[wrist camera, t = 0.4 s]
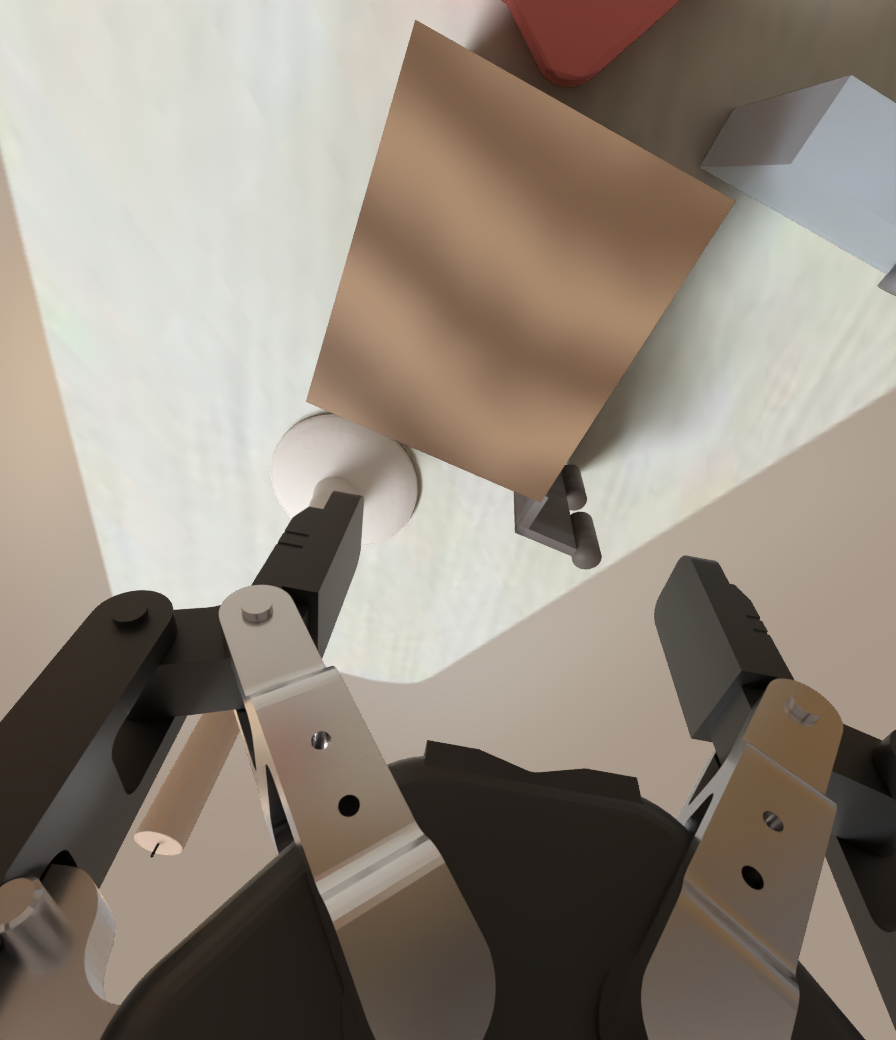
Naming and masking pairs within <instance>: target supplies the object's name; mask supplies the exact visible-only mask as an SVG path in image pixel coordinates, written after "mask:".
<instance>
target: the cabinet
mask: <svg viewBox="0 0 896 1040" xmlns="http://www.w3.org/2000/svg"><path fill="white" fill-rule="evenodd" d="M734 203H735V200H733V199H731V198H729V197H728V196H726V195H724V194H722V193H720V192H719V191H717V190H715V189H713V188H712V187H710V186H708V185H706V184H705V183H703V182H701V181H699V180H698V179H696V178H694V177H692V176H690V175H689V174H687V173H685V172H683V171H682V170H680V169H678V168H676V167H675V166H673V165H671V164H669V163H667V162H666V161H664V160H662V159H660V158H659V157H657V156H655V155H653V154H652V153H650V152H648V151H646V150H645V149H643V148H641V147H639V146H637V145H636V144H634V143H632V142H630V141H629V140H627V139H625V138H623V137H622V136H620V135H618V134H616V133H614V132H613V131H611V130H609V129H607V128H606V127H604V126H602V125H600V124H599V123H597V122H595V121H593V120H592V119H590V118H588V117H586V116H584V115H583V114H581V113H579V112H577V111H576V110H574V109H572V108H570V107H569V106H567V105H565V104H563V103H562V102H560V101H558V100H556V99H554V98H553V97H551V96H549V95H547V94H546V93H544V92H542V91H540V90H539V89H537V88H535V87H533V86H531V85H530V84H528V83H526V82H524V81H523V80H521V79H519V78H517V77H516V76H514V75H512V74H510V73H509V72H507V71H505V70H503V69H501V68H500V67H498V66H496V65H494V64H493V63H491V62H489V61H487V60H486V59H484V58H482V57H480V56H479V55H477V54H475V53H473V52H471V51H470V50H468V49H466V48H464V47H463V46H461V45H459V44H457V43H456V42H454V41H452V40H450V39H448V38H447V37H445V36H443V35H441V34H440V33H438V32H436V31H434V30H433V29H431V28H429V27H427V26H426V25H424V24H422V23H420V22H418V21H417V20H415V23H414V27H413V30H412V34H411V37H410V41H409V44H408V47H407V51H406V54H405V58H404V61H403V65H402V68H401V72H400V75H399V79H398V82H397V86H396V89H395V93H394V96H393V100H392V103H391V107H390V110H389V114H388V117H387V121H386V124H385V128H384V131H383V135H382V138H381V142H380V145H379V149H378V152H377V156H376V159H375V163H374V166H373V170H372V173H371V177H370V180H369V184H368V187H367V191H366V194H365V198H364V201H363V205H362V208H361V212H360V215H359V219H358V222H357V225H356V229H355V232H354V236H353V239H352V243H351V246H350V250H349V253H348V257H347V260H346V264H345V267H344V271H343V274H342V278H341V281H340V285H339V288H338V292H337V295H336V299H335V302H334V306H333V309H332V313H331V316H330V320H329V323H328V327H327V330H326V334H325V337H324V341H323V344H322V348H321V351H320V355H319V358H318V362H317V365H316V369H315V372H314V376H313V379H312V383H311V386H310V390H309V393H308V397H307V400H306V402H308V403H310V404H312V405H315V406H317V407H319V408H322V409H324V410H326V411H329V412H331V413H333V414H336V415H338V416H340V417H343V418H345V419H347V420H350V421H352V422H354V423H357V424H359V425H361V426H363V427H366V428H368V429H370V430H373V431H375V432H377V433H380V434H382V435H384V436H387V437H389V438H391V439H394V440H396V441H398V442H401V443H403V444H405V445H408V446H410V447H412V448H415V449H417V450H419V451H421V452H424V453H426V454H428V455H431V456H433V457H435V458H438V459H440V460H442V461H445V462H447V463H449V464H452V465H454V466H456V467H459V468H461V469H463V470H466V471H468V472H470V473H473V474H475V475H477V476H480V477H482V478H484V479H486V480H489V481H491V482H493V483H496V484H498V485H500V486H503V487H505V488H507V489H510V490H512V491H514V516H515V533H517V534H520V535H522V536H525V537H527V538H529V539H532V540H534V541H537V542H539V543H541V544H544V545H546V546H548V547H551V548H553V549H556V550H558V551H560V552H563V553H565V554H568V555H570V556H572V561H573V563H574V565H575V566H576V567H578V568H581V569H591V568H594V567H596V566H597V565H598V564H599V563H600V561H601V558H602V556H601V552H600V548H599V544H598V540H597V536H596V532H595V528H594V524H593V520H592V518H591V516H590V515H589V514H587V513H585V512H576V513H573V514H571V515H570V511H569V510H579V509H581V508H582V507H584V506H585V504H586V502H587V496H586V493H585V489H584V485H583V481H582V477H581V473H580V470H579V468H578V467H577V466H575V465H572V464H568V465H565V464H566V463H567V461H568V460H569V458H570V457H571V455H572V453H573V452H574V450H575V449H576V447H577V446H578V444H579V443H580V441H581V439H582V438H583V436H584V435H585V433H586V432H587V430H588V429H589V427H590V426H591V424H592V422H593V421H594V419H595V418H596V416H597V415H598V413H599V412H600V410H601V409H602V407H603V405H604V404H605V402H606V401H607V399H608V398H609V396H610V395H611V393H612V392H613V390H614V388H615V387H616V385H617V384H618V382H619V381H620V379H621V378H622V376H623V375H624V373H625V371H626V370H627V368H628V367H629V365H630V364H631V362H632V361H633V359H634V358H635V356H636V354H637V353H638V351H639V350H640V348H641V347H642V345H643V344H644V342H645V340H646V339H647V337H648V336H649V334H650V333H651V331H652V330H653V328H654V327H655V325H656V323H657V322H658V320H659V319H660V317H661V316H662V314H663V313H664V311H665V310H666V308H667V306H668V305H669V303H670V302H671V300H672V299H673V297H674V296H675V294H676V293H677V291H678V289H679V288H680V286H681V285H682V283H683V282H684V280H685V279H686V277H687V276H688V274H689V272H690V271H691V269H692V268H693V266H694V265H695V263H696V262H697V260H698V259H699V257H700V255H701V254H702V252H703V251H704V249H705V248H706V246H707V245H708V243H709V241H710V240H711V238H712V237H713V235H714V234H715V232H716V231H717V229H718V228H719V226H720V224H721V223H722V221H723V220H724V218H725V217H726V215H727V214H728V212H729V211H730V209H731V207H732V206H733V204H734Z"/></svg>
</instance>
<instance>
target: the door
mask: <svg viewBox="0 0 896 1040" xmlns="http://www.w3.org/2000/svg"><path fill="white" fill-rule="evenodd" d="M699 168H701V169H703V170H704V171H706V172H708V173H710V174H711V175H713V176H715V177H717V178H718V179H720V180H722V181H724V182H725V183H727V184H729V185H731V186H732V187H734V188H736V189H738V190H739V191H741V192H743V193H745V194H746V195H748V196H750V197H752V198H753V199H755V200H757V201H759V202H760V203H762V204H764V205H766V206H767V207H769V208H771V209H773V210H774V211H776V212H778V213H780V214H782V215H783V216H785V217H787V218H789V219H790V220H792V221H794V222H796V223H797V224H799V225H801V226H803V227H804V228H806V229H808V230H810V231H811V232H813V233H815V234H817V235H818V236H820V237H822V238H824V239H825V240H827V241H829V242H831V243H832V244H834V245H836V246H838V247H839V248H841V249H843V250H845V251H846V252H848V253H850V254H852V255H853V256H855V257H857V258H859V259H860V260H862V261H864V262H866V263H867V264H869V265H871V266H873V267H874V268H876V269H878V270H880V271H881V272H883V273H886V274H887V275H886V276H885V277H884V278H883V280H882V281H881V282H880V283H879V284H878V285H877V286H878V287H879V288H881V289H883V290H884V291H886V292H888V293H890V294H892V295H895V296H896V103H895V102H893V101H892V100H890V99H889V98H887V97H885V96H884V95H882V94H881V93H879V92H878V91H876V90H874V89H873V88H871V87H870V86H868V85H867V84H865V83H863V82H862V81H860V80H859V79H857V78H856V77H854V76H852V75H849V76H845V77H842V78H838V79H835V80H832V81H828V82H825V83H821V84H818V85H814V86H811V87H807V88H804V89H800V90H797V91H793V92H790V93H786V94H783V95H779V96H776V97H772V98H769V99H765V100H762V101H758V102H755V103H751V104H748V105H745V106H741V107H738V108H734V109H733V111H732V113H731V115H730V116H729V118H728V120H727V121H726V123H725V125H724V126H723V128H722V130H721V131H720V133H719V135H718V136H717V138H716V140H715V142H714V143H713V145H712V147H711V148H710V150H709V152H708V153H707V155H706V157H705V158H704V160H703V162H702V163H701V165H700V167H699Z"/></svg>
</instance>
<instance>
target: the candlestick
mask: <svg viewBox="0 0 896 1040" xmlns="http://www.w3.org/2000/svg"><path fill="white" fill-rule="evenodd" d="M271 481H272V486H273V490H274V492H275V495H276V497H277V499H278V501H279V503H280V505H281V506H282V508H283V509H284V511H285V512H286V513H287V514H288V516H289V517H290V518H291V519H292V518H293V517H294V516H295V515H297V514H298V513H300V512H301V511H303V510H304V509H306V508H307V507H314V508H320V509H323V508H324V507H325V505H326V503H327V501H328V499H329V497H330V495H331V494H332V492H333V491H339V492H344V493H350V494H355V495H361V496H363V497H364V510H363V524H362V539H361V546H366V545H371V544H375V543H379V542H381V541H384V540H386V539H388V538H390V537H392V536H393V535H395V534H396V533H397V532H398V531H400V530H401V529H402V528H403V527H404V525H405V524H406V523H407V522H408V520H409V519H410V517H411V515H412V513H413V510H414V508H415V504H416V500H417V493H418V484H417V477H416V473H415V470H414V467H413V464H412V462H411V460H410V458H409V456H408V455H407V453H406V452H405V450H404V449H403V448H402V446H401V445H400V444H399V443H398V442H397V441H396V440H394V439H391V438H389V437H387V436H384V435H382V434H380V433H377V432H375V431H373V430H370V429H368V428H366V427H363V426H361V425H359V424H357V423H354V422H352V421H350V420H347V419H345V418H343V417H340V416H338V415H336V414H325V415H319V416H314V417H311V418H308V419H306V420H304V421H302V422H300V423H298V424H296V425H295V426H294V427H292V428H291V429H290V430H289V431H288V432H287V433H286V434H285V435H284V436H283V437H282V439H281V440H280V441H279V443H278V445H277V446H276V449H275V451H274V453H273V457H272V461H271ZM239 732H240V729H239V726H238V723H237V720H236V717H235V714H234V710H227V711H219V712H211V713H203V714H202V716H201V718H200V719H199V721H198V723H197V725H196V726H195V728H194V730H193V732H192V733H191V735H190V737H189V739H188V741H187V742H186V744H185V746H184V748H183V750H182V751H181V753H180V755H179V757H178V758H177V760H176V762H175V764H174V766H173V767H172V769H171V771H170V773H169V775H168V776H167V778H166V780H165V782H164V784H163V785H162V787H161V789H160V791H159V793H158V794H157V796H156V798H155V800H154V801H153V803H152V805H151V807H150V808H149V810H148V812H147V814H146V816H145V817H144V819H143V821H142V823H141V825H140V826H139V828H138V830H137V832H136V834H135V837H134V838H135V841H136V842H137V843H138V844H139V845H140V846H142V847H143V848H145V849H147V850H149V851H152V854H151V857H153V856H154V854H155V853H158V854H164V855H177V854H179V853H181V852H182V851H183V849H184V847H185V844H186V843H187V840H188V838H189V836H190V834H191V832H192V830H193V828H194V826H195V824H196V822H197V819H198V817H199V815H200V813H201V811H202V809H203V807H204V805H205V802H206V801H207V799H208V796H209V794H210V792H211V790H212V788H213V786H214V784H215V782H216V780H217V777H218V776H219V773H220V771H221V769H222V767H223V765H224V763H225V760H226V759H227V757H228V755H229V752H230V750H231V748H232V746H233V744H234V742H235V740H236V738H237V735H238V734H239Z"/></svg>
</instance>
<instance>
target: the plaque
mask: <svg viewBox="0 0 896 1040" xmlns="http://www.w3.org/2000/svg"><path fill="white" fill-rule="evenodd" d="M502 1H503V2H504V3H506V4H507V6H508V8H509V10H510V12H511V14H512V16H513V18H514V20H515V22H516V24H517V26H518V28H519V30H520V32H521V34H522V35H523V37H524V39H525V41H526V43H527V45H528V47H529V49H530V51H531V53H532V55H533V57H534V59H535V61H536V63H537V65H538V67H539V69H540V71H541V73H542V75H543V76H544V77H545V78H546V79H548V80H549V81H550V82H552V83H553V84H554V85H558V86H561V87H574V86H579V85H581V84H583V83H585V82H586V81H588V80H590V79H592V78H593V77H594V76H595V75H596V74H598V73H599V72H600V71H601V70H602V69H603V68H604V67H605V66H607V65H608V64H609V63H610V62H611V61H612V60H613V59H615V58H616V57H617V56H618V55H619V54H620V53H621V52H622V51H624V50H625V49H626V48H627V47H628V46H629V45H630V44H632V43H633V42H634V41H635V40H636V39H637V38H638V37H639V36H641V35H642V34H643V33H644V32H645V31H646V30H647V29H649V28H650V27H651V26H652V25H653V24H654V23H655V22H656V21H658V20H659V19H660V18H661V17H662V16H663V15H664V14H666V13H667V12H668V11H669V10H670V9H671V8H672V7H673V6H675V5H676V4H677V3H678V2H679V1H680V0H502Z"/></svg>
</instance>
